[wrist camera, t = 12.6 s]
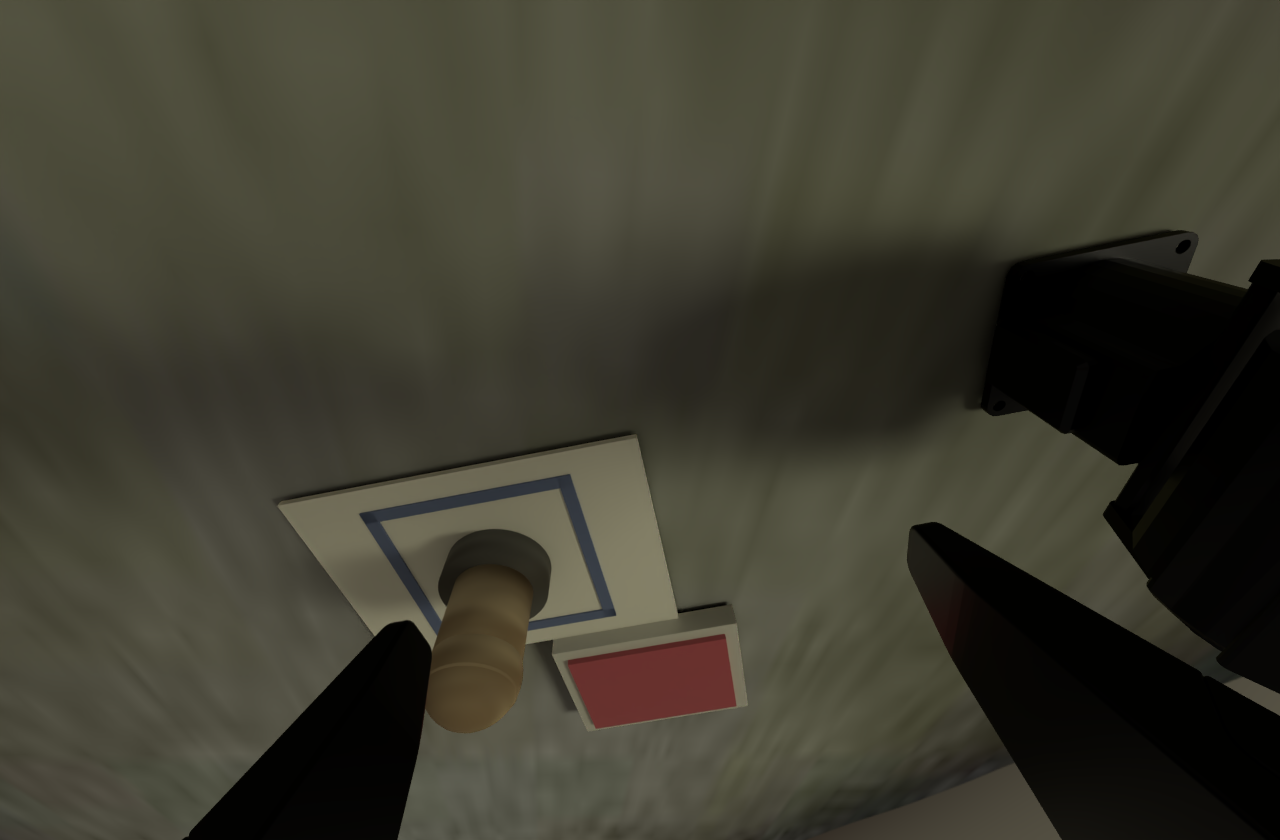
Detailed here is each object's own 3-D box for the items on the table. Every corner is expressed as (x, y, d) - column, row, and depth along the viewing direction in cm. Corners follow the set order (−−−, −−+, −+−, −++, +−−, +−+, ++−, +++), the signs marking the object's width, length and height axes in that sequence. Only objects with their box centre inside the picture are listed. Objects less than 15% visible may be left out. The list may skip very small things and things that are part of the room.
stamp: (563, 592, 26) (548, 750, 19) (469, 608, 26) (423, 770, 19) (534, 520, 23) (506, 675, 17) (430, 539, 23) (362, 699, 17)
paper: (636, 433, 21) (637, 439, 21) (677, 613, 27) (678, 619, 27) (280, 501, 22) (275, 507, 22) (399, 661, 28) (396, 667, 28)
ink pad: (731, 604, 27) (738, 628, 26) (743, 686, 31) (749, 710, 30) (553, 634, 28) (551, 659, 26) (588, 711, 32) (587, 736, 31)
